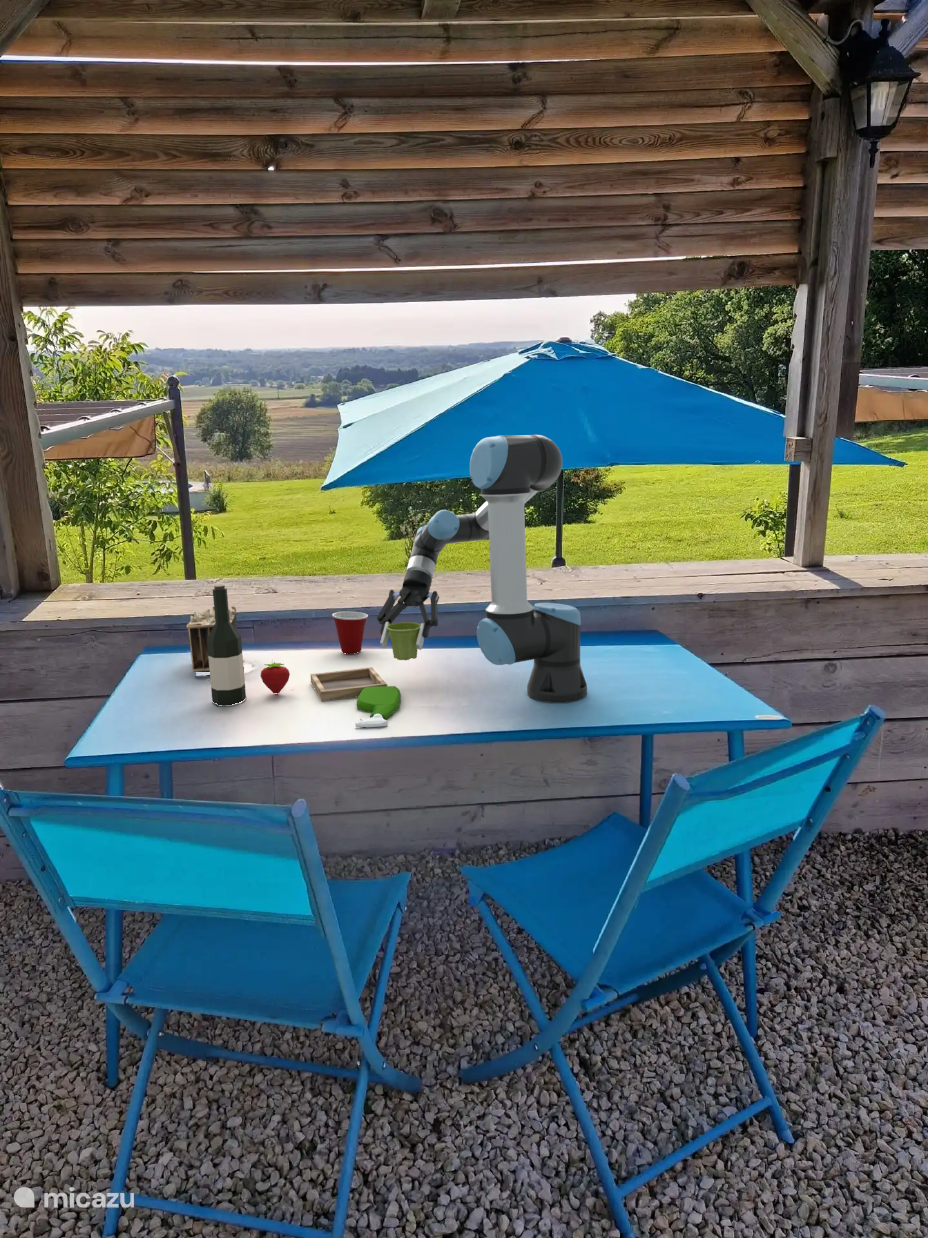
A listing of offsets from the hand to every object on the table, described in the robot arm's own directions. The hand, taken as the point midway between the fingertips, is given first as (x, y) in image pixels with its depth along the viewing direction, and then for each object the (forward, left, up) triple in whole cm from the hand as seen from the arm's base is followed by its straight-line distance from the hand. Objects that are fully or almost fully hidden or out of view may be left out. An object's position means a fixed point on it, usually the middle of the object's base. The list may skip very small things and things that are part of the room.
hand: (400, 646), depth 233 cm
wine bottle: (+5, +44, -11) cm, 46 cm away
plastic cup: (+40, +5, -11) cm, 42 cm away
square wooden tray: (+4, +14, -11) cm, 18 cm away
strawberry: (+6, +32, -11) cm, 35 cm away
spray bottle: (-17, +11, -12) cm, 23 cm away
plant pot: (+2, -2, -4) cm, 5 cm away
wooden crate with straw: (+39, +45, -11) cm, 61 cm away
